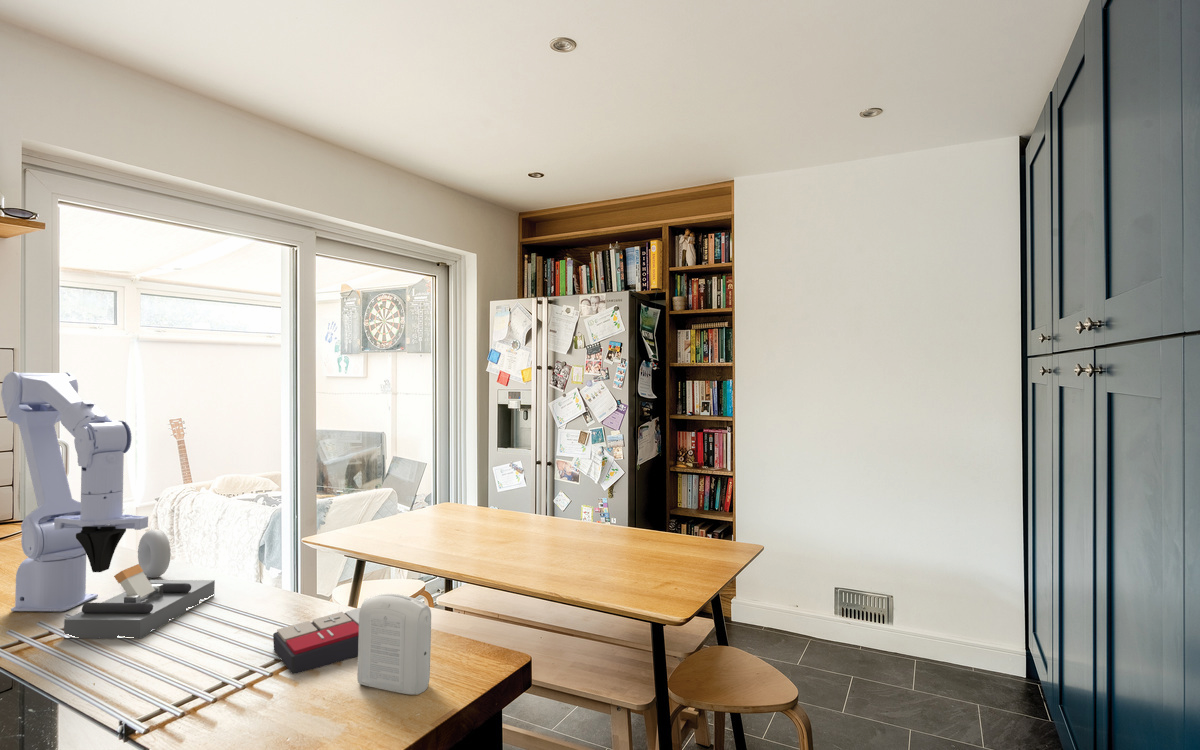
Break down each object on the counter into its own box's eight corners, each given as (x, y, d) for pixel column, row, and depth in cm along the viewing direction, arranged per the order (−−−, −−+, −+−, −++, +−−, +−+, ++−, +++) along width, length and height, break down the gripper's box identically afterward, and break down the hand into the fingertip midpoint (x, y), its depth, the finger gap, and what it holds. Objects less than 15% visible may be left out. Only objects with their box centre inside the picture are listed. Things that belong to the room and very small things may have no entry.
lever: (133, 605, 106) (113, 576, 106) (150, 597, 110) (130, 569, 110) (141, 600, 106) (121, 570, 106) (158, 592, 110) (138, 563, 110)
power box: (63, 638, 100) (64, 607, 100) (150, 595, 120) (151, 569, 120) (140, 638, 100) (140, 607, 100) (214, 595, 120) (214, 569, 120)
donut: (173, 579, 129) (174, 531, 130) (154, 584, 127) (155, 534, 127) (153, 571, 135) (154, 524, 135) (134, 574, 132) (135, 527, 132)
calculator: (272, 628, 97) (368, 601, 107) (273, 655, 97) (369, 626, 107) (291, 652, 89) (394, 620, 99) (292, 681, 89) (395, 648, 99)
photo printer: (435, 684, 87) (436, 594, 87) (417, 699, 83) (418, 605, 83) (372, 672, 90) (373, 586, 90) (352, 686, 86) (353, 596, 86)
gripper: (39, 495, 104) (37, 577, 104) (127, 496, 104) (126, 577, 104) (74, 488, 111) (72, 565, 111) (156, 488, 111) (155, 565, 111)
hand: (100, 570), depth 108 cm, fingers closed
